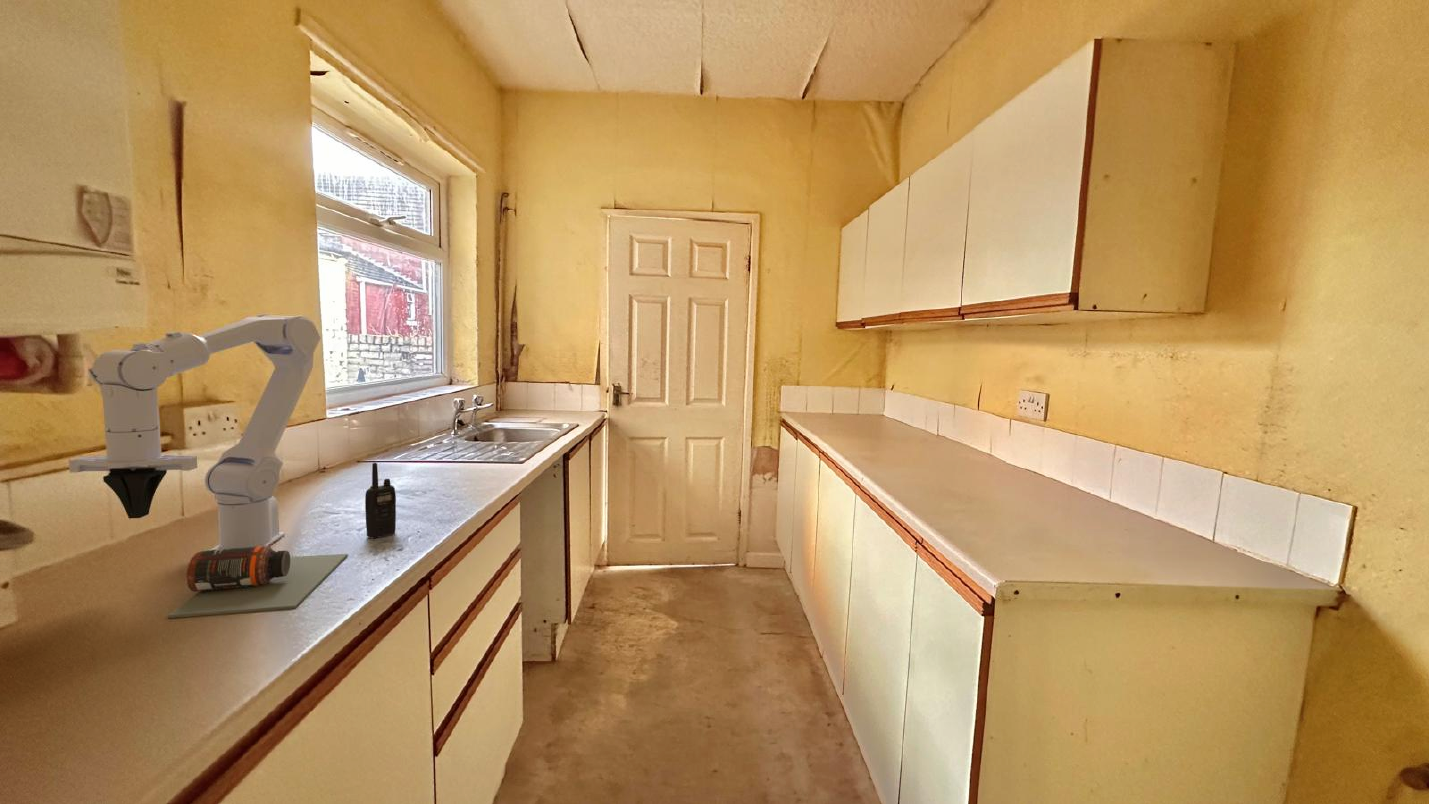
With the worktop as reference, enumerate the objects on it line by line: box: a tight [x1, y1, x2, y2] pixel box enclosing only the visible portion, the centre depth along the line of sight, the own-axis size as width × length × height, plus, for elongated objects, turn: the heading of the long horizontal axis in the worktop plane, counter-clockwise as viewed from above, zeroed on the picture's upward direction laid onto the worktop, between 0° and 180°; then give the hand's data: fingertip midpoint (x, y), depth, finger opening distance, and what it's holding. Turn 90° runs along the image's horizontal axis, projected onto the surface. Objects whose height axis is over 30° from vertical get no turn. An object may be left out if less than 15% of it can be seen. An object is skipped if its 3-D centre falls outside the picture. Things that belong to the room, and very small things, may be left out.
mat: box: [167, 553, 349, 619], centre depth 86 cm, size 20×15×1 cm
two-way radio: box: [364, 462, 397, 539], centre depth 108 cm, size 6×4×15 cm
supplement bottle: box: [186, 546, 291, 593], centre depth 84 cm, size 6×6×11 cm
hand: (138, 516), depth 84 cm, fingers closed
